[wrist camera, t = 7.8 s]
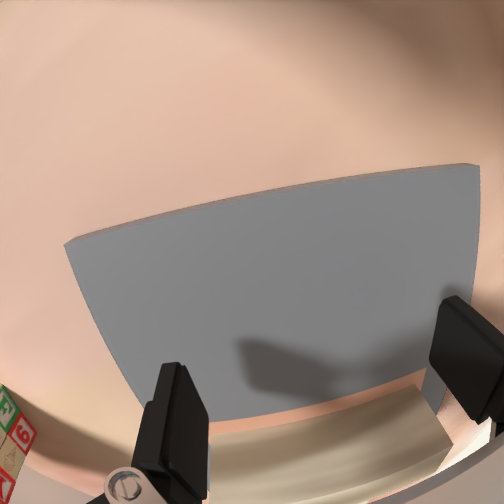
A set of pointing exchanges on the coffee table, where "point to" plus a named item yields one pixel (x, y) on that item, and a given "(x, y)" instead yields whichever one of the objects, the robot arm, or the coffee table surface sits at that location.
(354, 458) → the T block
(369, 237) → the board
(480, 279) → the coffee table surface
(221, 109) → the coffee table surface
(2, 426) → the stack of blocks
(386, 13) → the coffee table surface
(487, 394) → the robot arm
